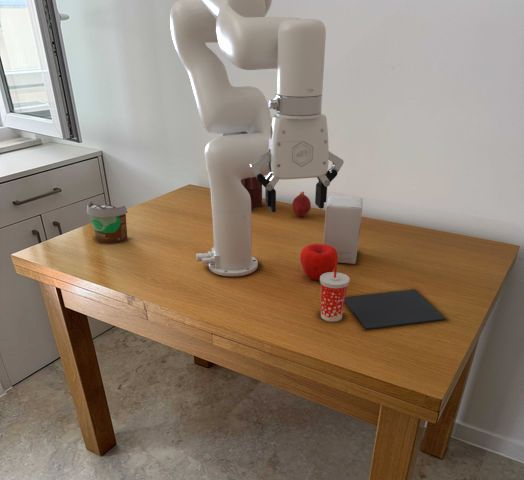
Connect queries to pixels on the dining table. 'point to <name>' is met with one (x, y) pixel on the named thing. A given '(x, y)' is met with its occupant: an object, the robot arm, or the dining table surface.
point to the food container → (108, 222)
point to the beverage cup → (333, 294)
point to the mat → (392, 309)
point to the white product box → (343, 226)
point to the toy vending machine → (251, 184)
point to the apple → (317, 260)
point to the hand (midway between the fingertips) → (295, 208)
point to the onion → (301, 204)
